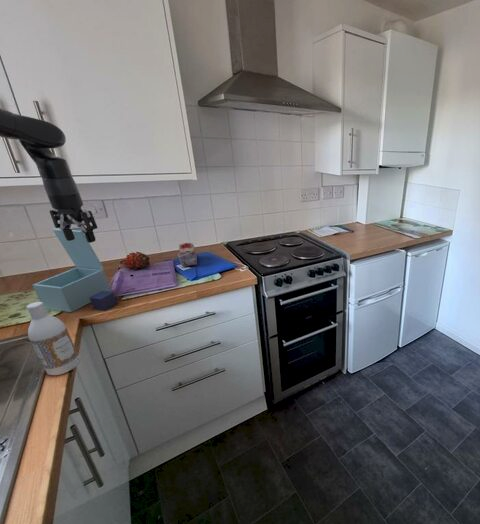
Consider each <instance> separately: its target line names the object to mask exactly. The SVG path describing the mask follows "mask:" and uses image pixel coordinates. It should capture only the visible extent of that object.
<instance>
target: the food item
mask: <svg viewBox="0 0 480 524" xmlns="http://www.w3.org/2000/svg"><path fill="white" fill-rule="evenodd" d="M177 257H178V260H179V263H180V264H181V266H182V267H192V266H193V267H194V266H197V265H198V256H197V251H196V248H195V245H194V243H192V242H184V243H180V244H179V245H178V250H177Z"/></svg>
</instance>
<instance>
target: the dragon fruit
mask: <svg viewBox="0 0 480 524" xmlns="http://www.w3.org/2000/svg"><path fill="white" fill-rule="evenodd" d="M119 264H120V265H123V268H126V269H133V270H134V271H136V270H139V269H143V268H145V266H147V265H149V264H150V257H149V256H148V255H147V254H146V253H142V252H141V251H136V252H130V253H128V254H127V255H126V257H125V258H122V260H121V261H120V262H119Z"/></svg>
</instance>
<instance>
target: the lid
mask: <svg viewBox="0 0 480 524" xmlns="http://www.w3.org/2000/svg"><path fill="white" fill-rule="evenodd" d="M71 229H72V232H73V234H74V237H75V239H74V240H71V241H67V240H66V238H65V235H64V233H63V231H62V230H61V229H60V228H53V229H52V231H53V233H54V234H55V236H56V238H57V239H58V241H59V242H60V244H61V246H62V247H63V249H64V250H65V252H66V253H67V255H68V257H69V258H70V260H71V262H72V263H73V264H74V266H75V268H76V267H81V268H91V269H100V270H104V266H103V264H102V263H101V261H100V259H99V257H98V255H97V254H96V252H95V250H94V249H93V247H92V245H91V243H88V242H87V239H86V237H85V234H84V231H83V230H82V229H81V228H80V227H71Z"/></svg>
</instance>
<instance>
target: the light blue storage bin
mask: <svg viewBox="0 0 480 524" xmlns="http://www.w3.org/2000/svg"><path fill="white" fill-rule="evenodd" d="M32 287H33V289H34V291H35V294H36V296H37V298H38V300H39V302H43V304H44V306H45V308H46V310H50V311H51V310H53V311H58V312H67V313H73V312H75V311H77V310H79V309H80V308H83V307H84V306H86V305H88V304H90V303H91V300H90V298H89V297H91V296H93V295H95V294H97V293H99V292H101V291H108V292H112V290H111V287H110V285H109V281H108V279H107V276H106V273H105V270H104V269H96V268H86V267H76V266H75V267H74V268H71V269H69V270H66V271H64V272H60V273H58V274H56V275H54V276H51V277H48V278H46V279H44V280H43V279H42V280H41V281H39V282H36V283H33V284H32Z"/></svg>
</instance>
